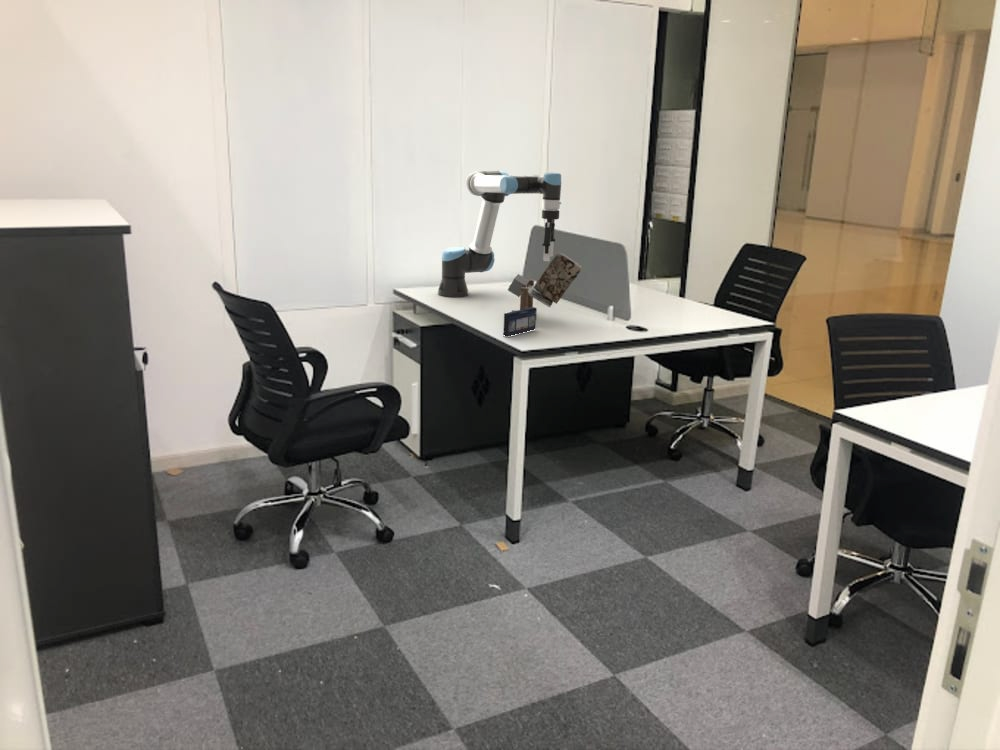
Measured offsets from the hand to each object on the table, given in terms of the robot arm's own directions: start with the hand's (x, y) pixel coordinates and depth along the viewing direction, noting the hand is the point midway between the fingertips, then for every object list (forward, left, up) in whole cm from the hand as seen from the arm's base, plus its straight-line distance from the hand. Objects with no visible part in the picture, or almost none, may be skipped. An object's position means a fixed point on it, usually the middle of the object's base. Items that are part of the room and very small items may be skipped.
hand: (548, 258), depth 351 cm
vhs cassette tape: (-8, -27, -28) cm, 40 cm away
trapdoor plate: (-8, 0, -19) cm, 20 cm away
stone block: (-1, +2, -17) cm, 17 cm away
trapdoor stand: (-11, 0, -28) cm, 30 cm away
